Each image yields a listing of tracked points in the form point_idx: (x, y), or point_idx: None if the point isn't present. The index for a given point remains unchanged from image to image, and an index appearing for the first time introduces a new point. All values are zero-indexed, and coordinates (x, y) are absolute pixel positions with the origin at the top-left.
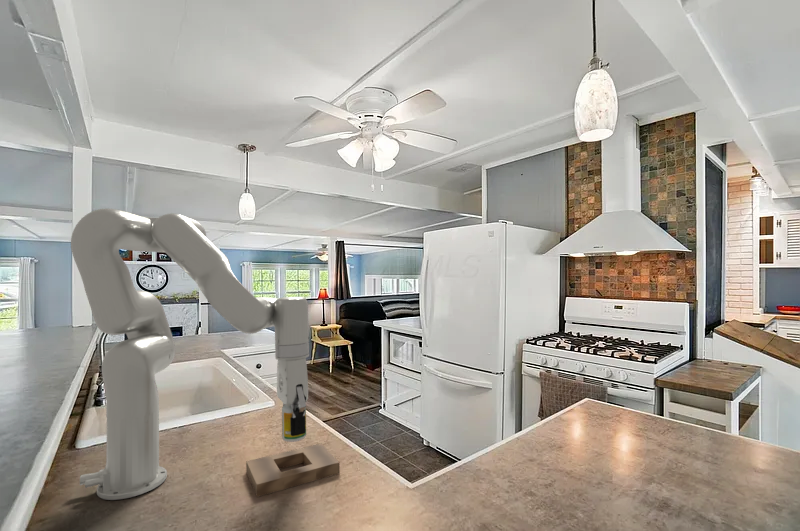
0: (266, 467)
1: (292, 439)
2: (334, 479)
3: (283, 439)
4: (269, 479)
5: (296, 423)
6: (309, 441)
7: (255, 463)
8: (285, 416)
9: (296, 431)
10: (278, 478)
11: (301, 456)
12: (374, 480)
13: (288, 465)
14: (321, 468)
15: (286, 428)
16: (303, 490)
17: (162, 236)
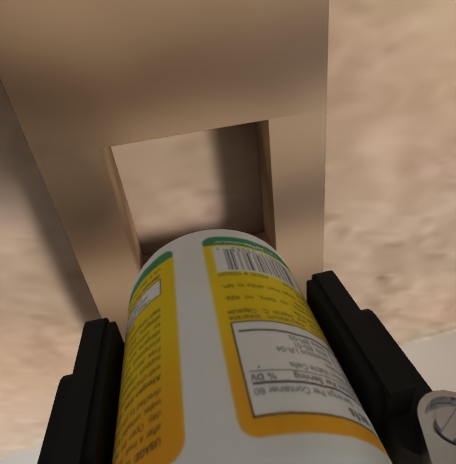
0: (184, 73)
1: (130, 295)
2: (85, 315)
3: (185, 236)
4: (22, 79)
5: (44, 451)
6: (432, 264)
7: (268, 8)
8: (155, 423)
9: (65, 379)
10: (26, 130)
11: (272, 240)
12: (46, 405)
13: (260, 176)
14: (100, 306)
15: (147, 321)
16: (23, 214)
17: None
